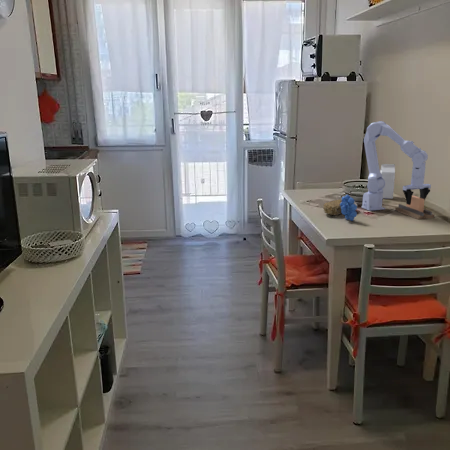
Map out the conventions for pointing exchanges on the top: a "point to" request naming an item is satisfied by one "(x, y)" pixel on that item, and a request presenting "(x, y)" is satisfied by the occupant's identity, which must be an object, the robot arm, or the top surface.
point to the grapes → (348, 207)
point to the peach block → (416, 203)
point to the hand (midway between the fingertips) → (415, 203)
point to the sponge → (334, 207)
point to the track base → (414, 212)
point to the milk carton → (388, 179)
